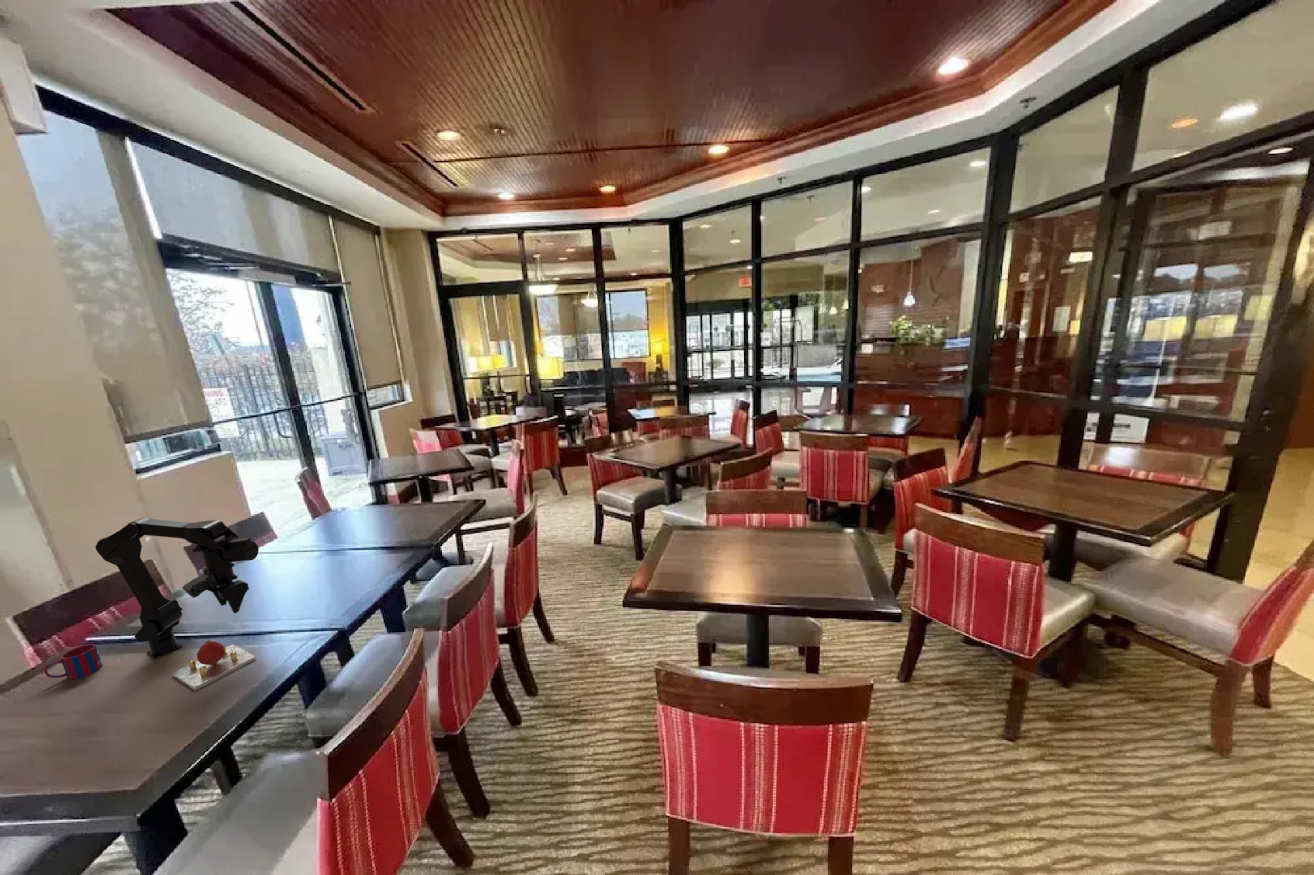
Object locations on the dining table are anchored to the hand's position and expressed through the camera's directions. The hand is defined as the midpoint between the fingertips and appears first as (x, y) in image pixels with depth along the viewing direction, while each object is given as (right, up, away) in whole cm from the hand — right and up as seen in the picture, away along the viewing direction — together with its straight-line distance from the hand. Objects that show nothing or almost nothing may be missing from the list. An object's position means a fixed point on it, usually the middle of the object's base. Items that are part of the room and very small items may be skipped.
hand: (229, 608), depth 148 cm
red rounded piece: (+4, -13, -9) cm, 16 cm away
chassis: (+4, -14, -9) cm, 17 cm away
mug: (-37, -16, -9) cm, 41 cm away
